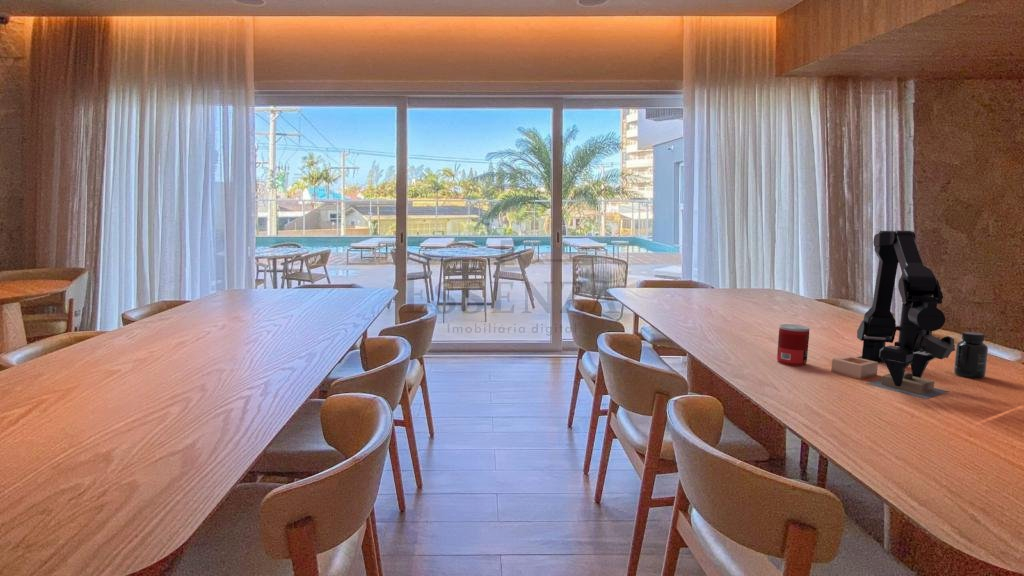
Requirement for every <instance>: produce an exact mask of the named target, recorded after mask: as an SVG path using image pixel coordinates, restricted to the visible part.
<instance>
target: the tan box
mask: <svg viewBox="0 0 1024 576" xmlns="http://www.w3.org/2000/svg"><path fill="white" fill-rule="evenodd" d="M857 357H858V356H851V355H845V356H844V355H843V356H841V357H836V358H832V359H831V371H830V372H831V373H835V374H839V375H842V376H847V377H850V378H855V379H859V380H863V379H867V378H870V377H875V376H877V374H878V367H879V363H878V362H875V361H871V360H866V359H862V358H857Z"/></svg>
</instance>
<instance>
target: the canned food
mask: <svg viewBox="0 0 1024 576" xmlns="http://www.w3.org/2000/svg"><path fill="white" fill-rule="evenodd" d="M777 340H778V341H777V353H776V359H777V362H778V363H779V364H782V365H784V364H785V366H789V367H790V366H791V367H803V366H806V365H807V362H808V353H809V340H810V327H808V326H805V325H800V324H794V323H793V324H792V323H785V324H784V323H783V324H780V325H779V328H778V339H777Z"/></svg>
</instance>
